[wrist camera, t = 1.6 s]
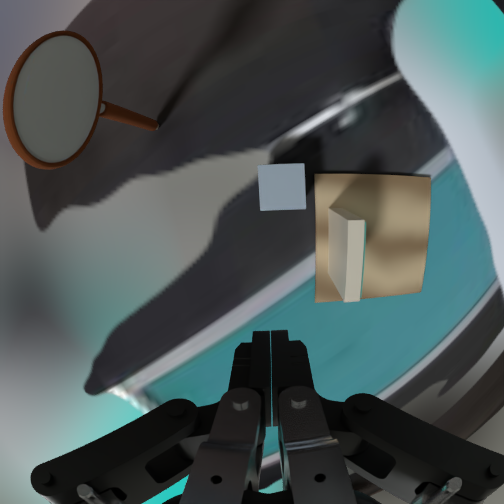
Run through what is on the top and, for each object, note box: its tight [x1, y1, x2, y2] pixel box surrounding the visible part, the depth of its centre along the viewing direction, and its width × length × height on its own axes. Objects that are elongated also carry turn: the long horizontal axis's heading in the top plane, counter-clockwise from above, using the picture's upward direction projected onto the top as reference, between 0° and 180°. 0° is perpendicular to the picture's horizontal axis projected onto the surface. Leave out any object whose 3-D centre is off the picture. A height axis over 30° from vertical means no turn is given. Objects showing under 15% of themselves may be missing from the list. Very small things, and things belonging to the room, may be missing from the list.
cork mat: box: [314, 174, 431, 303], centre depth 27 cm, size 14×14×1 cm
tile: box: [328, 208, 366, 302], centre depth 24 cm, size 7×2×7 cm, turn 4°
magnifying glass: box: [3, 31, 159, 169], centre depth 16 cm, size 9×2×20 cm, turn 173°
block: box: [258, 163, 306, 211], centre depth 25 cm, size 4×4×4 cm
